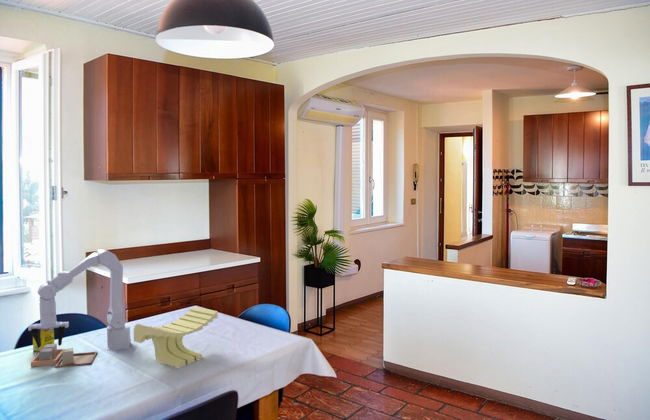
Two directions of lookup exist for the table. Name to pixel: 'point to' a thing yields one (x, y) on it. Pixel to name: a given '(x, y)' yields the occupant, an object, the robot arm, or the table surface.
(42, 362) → the terracotta bin
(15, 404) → the table surface
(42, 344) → the supplement box
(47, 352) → the block
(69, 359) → the white block
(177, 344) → the slatted curved stool
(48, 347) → the block
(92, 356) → the walnut tray
